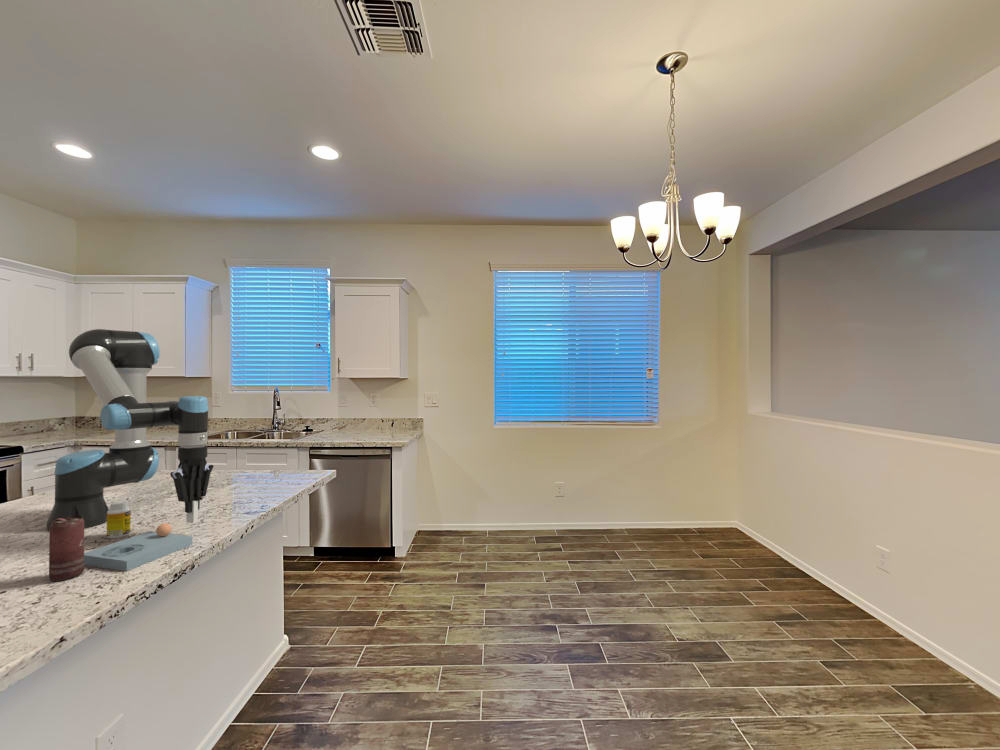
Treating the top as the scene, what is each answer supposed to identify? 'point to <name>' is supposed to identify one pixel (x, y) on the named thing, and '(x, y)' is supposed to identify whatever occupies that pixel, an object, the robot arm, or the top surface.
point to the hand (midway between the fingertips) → (192, 521)
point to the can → (66, 548)
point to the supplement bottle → (118, 520)
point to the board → (136, 551)
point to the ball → (163, 529)
